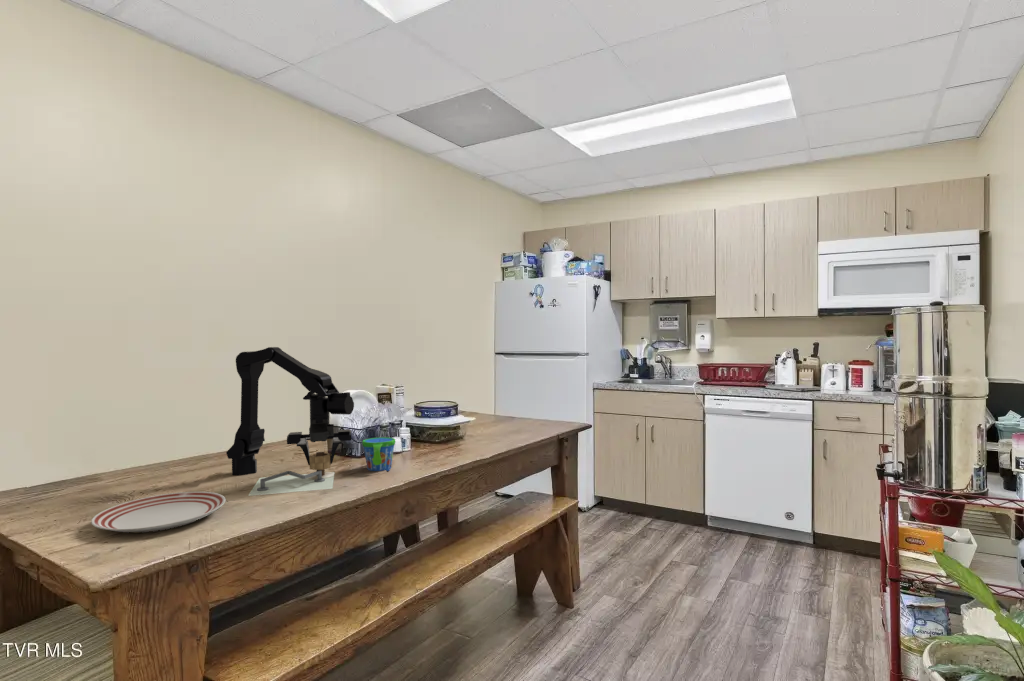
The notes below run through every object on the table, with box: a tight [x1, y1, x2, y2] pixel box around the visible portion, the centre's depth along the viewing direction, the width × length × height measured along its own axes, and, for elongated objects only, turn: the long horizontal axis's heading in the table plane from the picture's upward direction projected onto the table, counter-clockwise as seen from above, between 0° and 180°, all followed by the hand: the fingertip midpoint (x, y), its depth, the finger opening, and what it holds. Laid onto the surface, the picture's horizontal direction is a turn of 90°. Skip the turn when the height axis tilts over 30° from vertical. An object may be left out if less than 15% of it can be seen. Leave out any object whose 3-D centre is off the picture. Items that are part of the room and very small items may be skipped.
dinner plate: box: [90, 491, 226, 533], centre depth 135 cm, size 28×27×3 cm
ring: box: [309, 452, 332, 471], centre depth 172 cm, size 6×6×4 cm
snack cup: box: [361, 436, 396, 472], centre depth 182 cm, size 16×10×10 cm
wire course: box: [247, 470, 335, 497], centre depth 165 cm, size 22×21×4 cm
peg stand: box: [308, 451, 335, 480], centre depth 172 cm, size 8×8×7 cm
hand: (320, 464), depth 172 cm, fingers closed on ring, 6 cm apart
